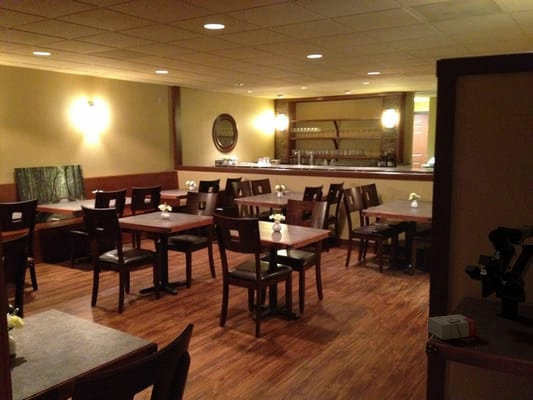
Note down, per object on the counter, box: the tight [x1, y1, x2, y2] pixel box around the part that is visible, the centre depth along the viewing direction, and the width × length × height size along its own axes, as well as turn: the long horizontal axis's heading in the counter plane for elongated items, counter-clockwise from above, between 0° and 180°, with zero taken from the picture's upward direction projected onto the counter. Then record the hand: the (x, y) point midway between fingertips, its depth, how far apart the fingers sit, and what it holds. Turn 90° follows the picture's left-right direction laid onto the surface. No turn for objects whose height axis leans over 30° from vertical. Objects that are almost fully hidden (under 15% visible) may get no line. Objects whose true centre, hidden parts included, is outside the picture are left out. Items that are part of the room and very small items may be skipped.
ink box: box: [427, 314, 477, 341], centre depth 149 cm, size 9×5×12 cm
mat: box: [456, 336, 477, 343], centre depth 146 cm, size 4×6×1 cm
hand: (483, 297), depth 153 cm, fingers closed
